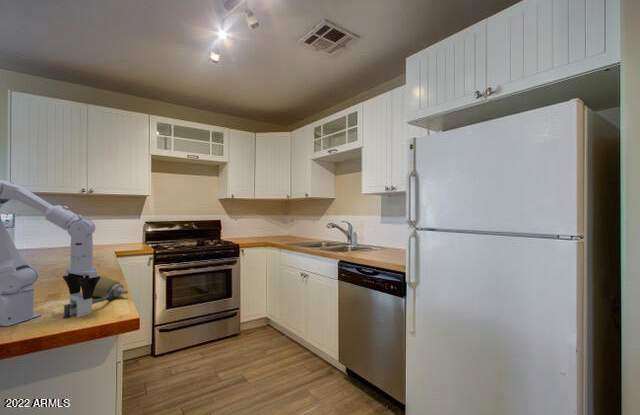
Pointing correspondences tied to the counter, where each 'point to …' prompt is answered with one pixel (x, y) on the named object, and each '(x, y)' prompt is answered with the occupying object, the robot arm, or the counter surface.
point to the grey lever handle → (109, 294)
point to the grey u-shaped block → (80, 305)
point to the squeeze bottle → (108, 287)
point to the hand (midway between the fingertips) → (81, 297)
